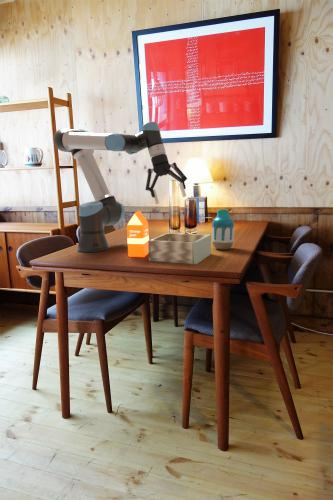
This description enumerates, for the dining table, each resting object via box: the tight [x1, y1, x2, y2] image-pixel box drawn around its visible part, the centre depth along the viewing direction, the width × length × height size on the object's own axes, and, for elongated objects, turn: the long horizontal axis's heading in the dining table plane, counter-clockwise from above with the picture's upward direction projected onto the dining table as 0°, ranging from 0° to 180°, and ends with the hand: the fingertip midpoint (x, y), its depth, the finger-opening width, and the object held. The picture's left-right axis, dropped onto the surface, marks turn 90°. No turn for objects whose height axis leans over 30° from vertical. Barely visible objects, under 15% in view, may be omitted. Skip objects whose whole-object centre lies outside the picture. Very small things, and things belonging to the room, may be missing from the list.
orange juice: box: [126, 210, 150, 258], centre depth 177 cm, size 8×9×20 cm
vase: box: [211, 208, 235, 251], centre depth 183 cm, size 11×11×19 cm
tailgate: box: [192, 233, 212, 265], centre depth 166 cm, size 2×19×9 cm, turn 157°
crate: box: [148, 232, 207, 265], centre depth 170 cm, size 20×20×9 cm
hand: (171, 200), depth 179 cm, fingers open, 13 cm apart
